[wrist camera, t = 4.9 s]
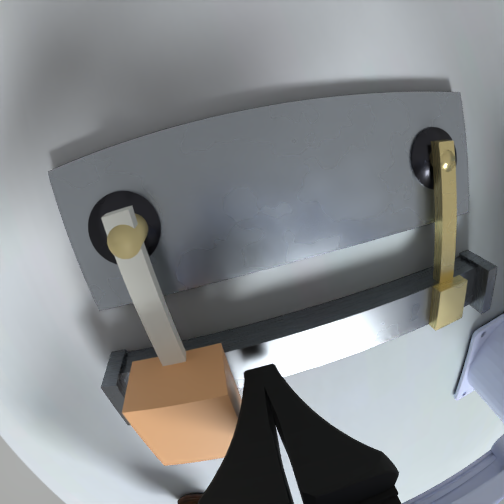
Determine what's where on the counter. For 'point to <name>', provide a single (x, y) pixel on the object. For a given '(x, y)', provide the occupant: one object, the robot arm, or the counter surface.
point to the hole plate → (262, 186)
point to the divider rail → (351, 307)
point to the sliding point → (170, 365)
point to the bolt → (190, 499)
